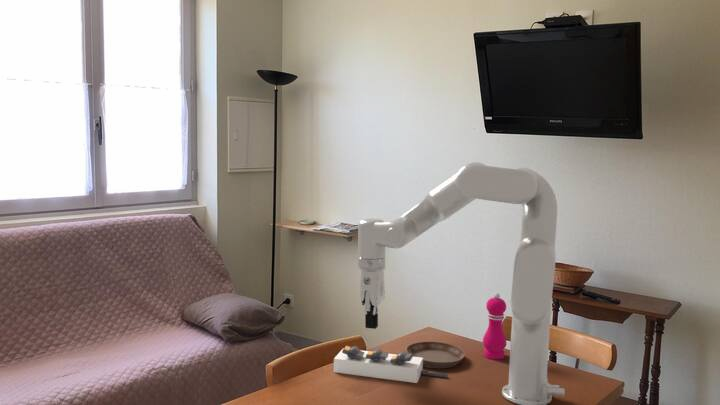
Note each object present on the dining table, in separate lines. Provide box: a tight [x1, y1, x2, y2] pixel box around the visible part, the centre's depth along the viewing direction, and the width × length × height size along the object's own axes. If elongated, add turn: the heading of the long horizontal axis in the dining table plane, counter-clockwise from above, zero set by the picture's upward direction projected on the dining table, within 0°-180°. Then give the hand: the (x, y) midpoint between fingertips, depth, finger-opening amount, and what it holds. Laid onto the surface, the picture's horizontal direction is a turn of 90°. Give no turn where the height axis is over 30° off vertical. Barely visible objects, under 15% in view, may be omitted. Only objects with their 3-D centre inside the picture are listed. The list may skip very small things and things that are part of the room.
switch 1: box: [342, 345, 365, 360], centre depth 175 cm, size 6×4×3 cm, turn 75°
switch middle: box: [366, 348, 389, 362], centre depth 173 cm, size 6×4×3 cm, turn 75°
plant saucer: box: [405, 341, 466, 369], centre depth 186 cm, size 18×18×3 cm
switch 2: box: [390, 351, 413, 365], centre depth 171 cm, size 6×4×3 cm, turn 74°
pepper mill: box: [482, 292, 507, 361], centre depth 189 cm, size 7×7×20 cm
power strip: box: [333, 347, 449, 384], centre depth 174 cm, size 32×9×4 cm, turn 75°
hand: (371, 327), depth 172 cm, fingers closed
